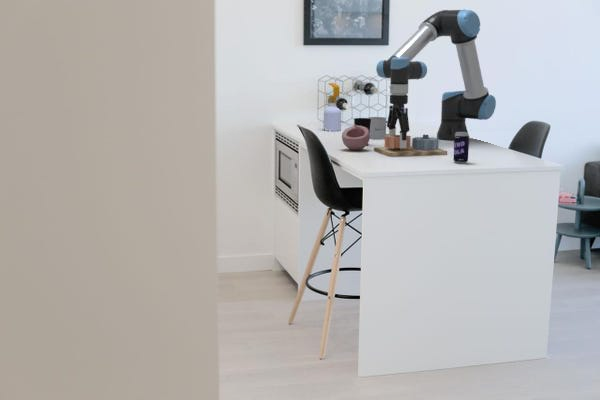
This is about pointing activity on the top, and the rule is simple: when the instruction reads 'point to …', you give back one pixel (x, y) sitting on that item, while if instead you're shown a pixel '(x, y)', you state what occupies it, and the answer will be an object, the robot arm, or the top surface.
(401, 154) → the gear board
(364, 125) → the cup
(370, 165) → the top surface
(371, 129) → the mug
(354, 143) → the mortar and pestle
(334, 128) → the soap bottle
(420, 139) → the seated gear
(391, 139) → the loose gear
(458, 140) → the beverage can
